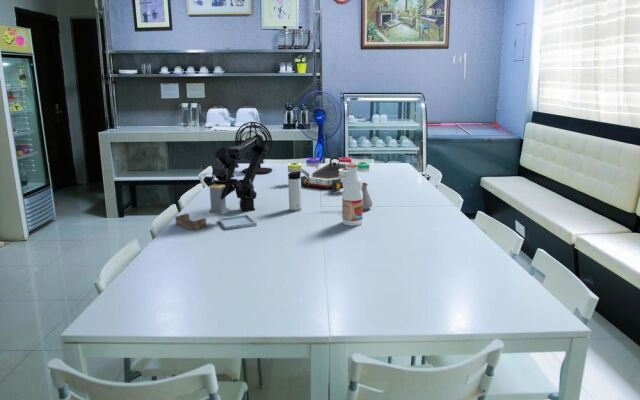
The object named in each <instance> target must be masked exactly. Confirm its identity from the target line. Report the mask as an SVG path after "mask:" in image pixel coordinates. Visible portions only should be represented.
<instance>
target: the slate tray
mask: <svg viewBox="0 0 640 400" xmlns="http://www.w3.org/2000/svg"><path fill="white" fill-rule="evenodd" d="M217 221H219V222H218V223H219V224H220V226H222V228H223V229H224V230H225V231H229V230H236V229H242V228H250V227H256V226H257V225H258V224H257V221H255V219H254V218H252V217H251V216H250V215H249V214H241V215H234V216H226V217H220V218H217Z"/></svg>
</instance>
